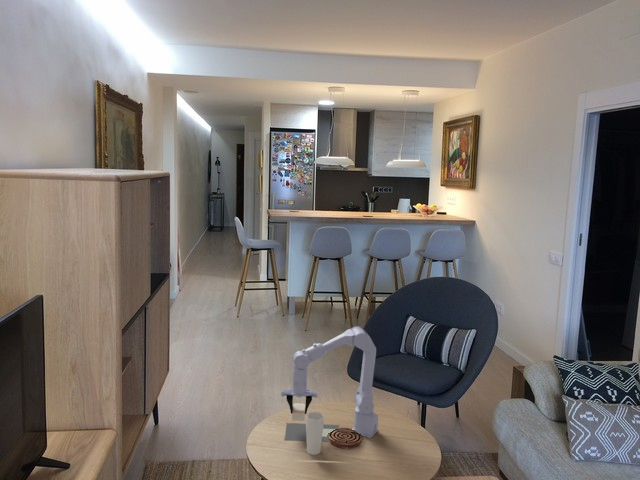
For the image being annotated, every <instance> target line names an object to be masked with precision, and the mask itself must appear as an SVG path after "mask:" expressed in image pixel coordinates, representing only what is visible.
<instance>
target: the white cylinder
mask: <svg viewBox="0 0 640 480" xmlns="http://www.w3.org/2000/svg"><path fill="white" fill-rule="evenodd" d="M324 418H325V417H324V414H323V413H321V412H319V411H310V412H307V414H305V424H306V440H307V441H306V453H307V454H309V455H311V456H317V455H319V454H320V453H321V450H322V442H321V441H322V434H323V426H324V423H325V422H324V421H325V420H324Z"/></svg>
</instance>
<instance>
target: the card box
mask: <svg viewBox="0 0 640 480" xmlns="http://www.w3.org/2000/svg"><path fill="white" fill-rule="evenodd" d="M305 405H306V403H300V402H299V403H296V402H295V403H294V402H293V411H292V414H291V421H294V422H295V421H298V422H300V421H301V422H305V421H306V414H305Z"/></svg>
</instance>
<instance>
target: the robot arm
mask: <svg viewBox="0 0 640 480" xmlns="http://www.w3.org/2000/svg"><path fill="white" fill-rule="evenodd" d="M344 345H346V346H349V347H353V346H355V347H356V348H358V349H359V350H362V352H363V354H362V362H361V363H362V364H361V371H360V380H359V387H357V392H356V394H354V399H353V400H354V402H355V403H356V405H355V408H354V422H353V427H352V428H351V429H352V430H355V431H357V432H358V433H359V434H361V435H360V436H361V437H362V436H363V437H366V438H369V439H371V438H372V437H373V436H374V435H375V434H376V433H377V432H378V431H379V428H378V427H379V414H378V413H376V412H374V410H375V409H374V408H375V404H374V402H373V400H374V398H373V391H372V390H373V383H374V374H375V364H376V357H377V347H376V345H375V344H374V342H373V340H372V338H371V337H370V335H369V334H368V332H367V331H366V330H365V329H363V328H362V327H361V326H357V325H356V326H353V327H351V328H349V329H346V330H345V331H344V332H342V333H340V334H339V335H337V336H335V337H333V338H332V339H330V340H328V341H326V342H324V343H319V342H318V343H315V342H314V343H313V344H312V346H309V347H307V348H303V349H302V350H298V351H296V352H295V353H294V354H293V356H292V361H293V370H292V389H291V388H290V389H281V393H280V395H281V397H286V402H287V404H288V407H289V410H290V414H291V415H292V411H293V403H294V397H296V398H302V397H305V415H307V414H308V410H309V407H310V404H311V403H312V400H313V398H318V390H311V389H307V388H308V367H309V364H312V363H314V362H316V361H318V360H320V359H321V358H324V357H325V356H326V354H327V352H329V351H332V350H334V349H336V348H339V347H341V346H344ZM359 434H358V435H359Z"/></svg>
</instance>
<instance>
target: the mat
mask: <svg viewBox="0 0 640 480" xmlns="http://www.w3.org/2000/svg"><path fill="white" fill-rule="evenodd" d="M335 429H339V430H340V426H339V424H324V426H323V434H322V441H321V443H331V442H330V441H329V439H328V437H327V435H328V433H330V432H332V431H333V430H335ZM284 441H292V442H295V441H296V442H307V440H306V423H295V422H294V423H293V422H286V427H285V435H284Z"/></svg>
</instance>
